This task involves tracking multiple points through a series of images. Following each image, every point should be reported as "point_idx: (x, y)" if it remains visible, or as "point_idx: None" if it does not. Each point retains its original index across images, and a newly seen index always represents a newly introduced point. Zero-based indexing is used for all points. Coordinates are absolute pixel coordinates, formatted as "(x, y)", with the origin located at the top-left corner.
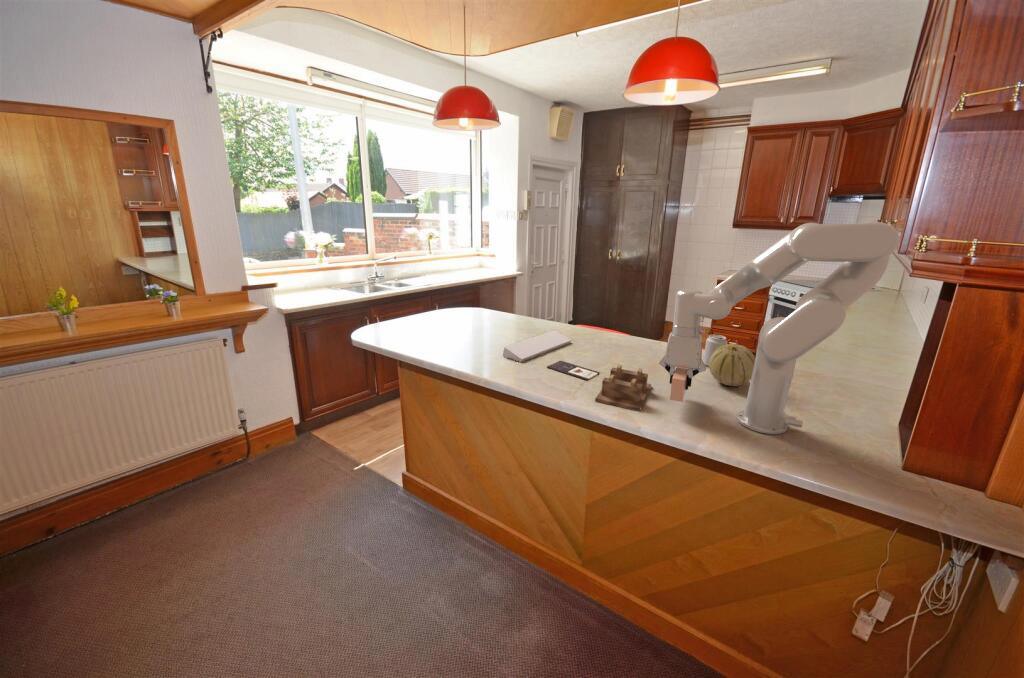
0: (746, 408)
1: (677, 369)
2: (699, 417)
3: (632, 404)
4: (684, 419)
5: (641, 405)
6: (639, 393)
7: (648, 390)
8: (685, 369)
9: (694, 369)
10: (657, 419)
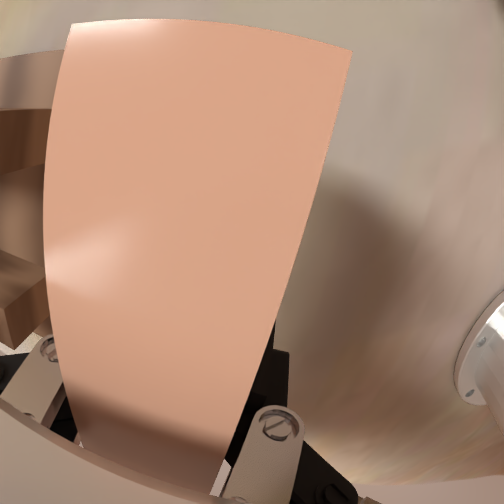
0: (498, 388)
1: (95, 436)
2: (316, 362)
3: (45, 326)
4: None
5: None
6: (29, 333)
7: None
8: (186, 453)
9: (300, 500)
10: None
